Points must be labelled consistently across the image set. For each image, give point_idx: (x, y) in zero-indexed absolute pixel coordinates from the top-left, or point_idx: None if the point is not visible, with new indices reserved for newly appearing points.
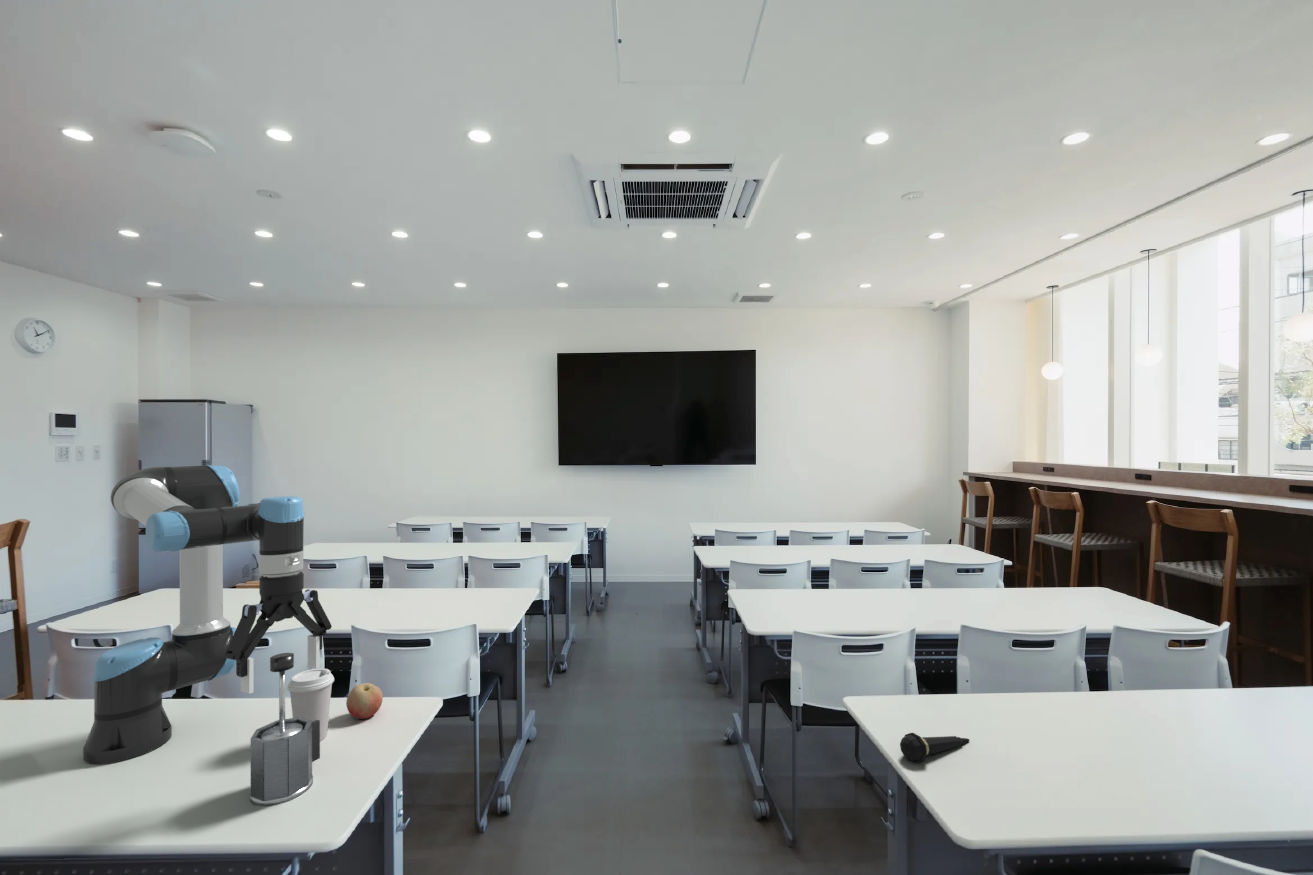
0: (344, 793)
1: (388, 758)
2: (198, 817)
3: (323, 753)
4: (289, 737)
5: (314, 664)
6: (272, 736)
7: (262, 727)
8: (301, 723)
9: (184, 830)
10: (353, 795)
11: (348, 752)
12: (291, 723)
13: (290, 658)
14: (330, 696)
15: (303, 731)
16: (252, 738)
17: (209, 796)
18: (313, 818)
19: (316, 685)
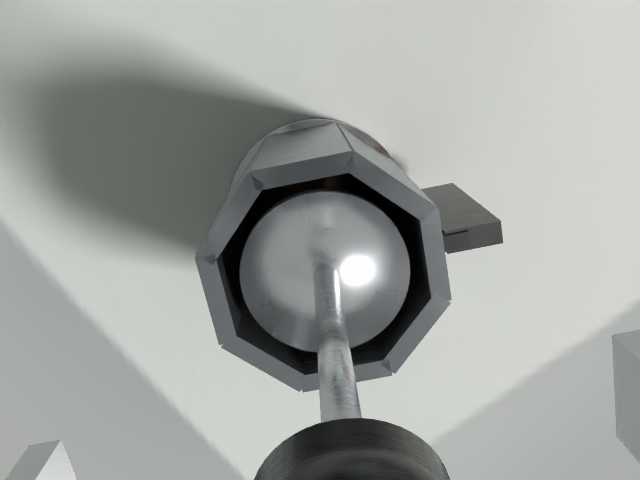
0: (412, 379)
1: (599, 309)
2: (97, 153)
3: (514, 81)
4: (310, 383)
5: (633, 436)
6: (276, 292)
7: (276, 173)
8: (422, 250)
9: (55, 193)
10: (420, 407)
11: (563, 156)
12: (389, 225)
13: None
14: None
15: (372, 378)
16: (202, 258)
17: (150, 41)
18: (305, 420)
19: None
